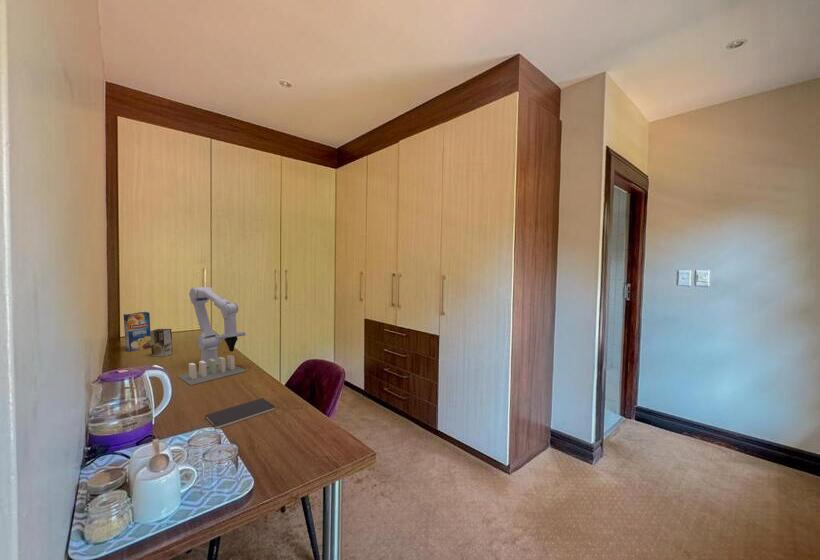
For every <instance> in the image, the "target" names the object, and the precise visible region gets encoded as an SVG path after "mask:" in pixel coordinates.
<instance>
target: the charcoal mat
mask: <svg viewBox="0 0 820 560" xmlns="http://www.w3.org/2000/svg"><path fill="white" fill-rule="evenodd" d="M225 364H226V372H221V371H219V370H218V366H216V374H213V375H212V374H211V373H209V368H206V371H207V376H205V377H202V376H200V375H199V370H196V376H197V379H191V378H189V372H188V373H183V374H179V375H177V378H179V379H180V380H182V382H184V383H186V384H187V385H189V387H191V386H195V385H199V384H205V383H207V382H208V383H209V382H212V381H215V380H219V379H222V378H227V377H230V376H235V375H238V374H242V373H246V372H248V370H246V369H244V368H242V367H240V366H238V365H236V364H235V369H234V370H230V369H228V367H227V363H225Z"/></svg>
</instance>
